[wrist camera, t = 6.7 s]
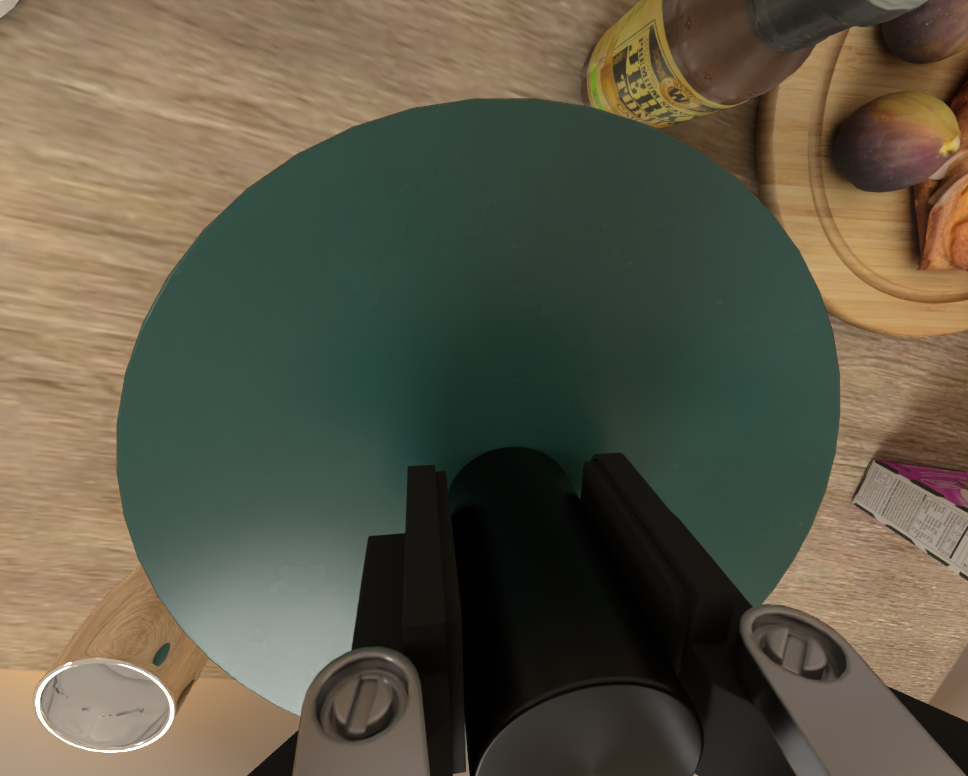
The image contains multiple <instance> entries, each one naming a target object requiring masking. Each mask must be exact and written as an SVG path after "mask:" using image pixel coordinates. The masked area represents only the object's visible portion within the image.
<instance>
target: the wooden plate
mask: <svg viewBox="0 0 968 776" xmlns="http://www.w3.org/2000/svg"><path fill="white" fill-rule="evenodd" d="M756 165H757V180H758V188H759V196H760V202H761V203H762V204H763V205H764V206H765V207H766V208H767V209H768V210H769V211H770V212H771V213H772V214H773V215H774V216H775V218H776V219H777V220H778V222H779V223H780V225H781V226H782V227H783V229H784V230H785V231H786V233H787V234H788V236H789V237H790V238H791V240H792V241H793V243H794V244H795V245H796V247H797V248H798V250H799V251H800V253H801V255H802V256H803V258H804V260H805V262H806V264H807V266H808V268H809V270H810V272H811V274H812V276H813V278H814V280H815V282H816V284H817V286H818V288H819V290H820V293H821V296H822V299H823V302H824V305H825V309H826V311H827V312H828V313H830V314H831V315H833V316H835V317H837V318H838V319H840V320H842V321H844V322H846V323H848V324H851V325H853V326H855V327H857V328H860V329H864V330H867V331H870V332H873V333H878V334H882V335H889V336H898V337H931V336H942V335H949V334H954V333H958V332H962V331H965V330H968V0H929V1H928V2H926V3H925V4H923V5H922V6H920V7H919V8H917V9H915V10H913V11H910V12H908V13H905V14H903V15H900V16H899V17H897V18H895V19H892V20H890V21H887V22H883V23H880V24H876V25H873V26H869V27H858V26H854V27H851V28H848V29H846V30H844V31H841V32H839V33H836V34H835V35H832V36H829V37H828V38H827V39H825V40H823V41H822V42H820V43H818V44H816V46H815V48H814V49H813V50H812V52H811V54H810V56H809V57H808V58H807V59H806V60H805V62H804V63H803V64H802V65H801V67H800V68H799V69H798V70H797V71H796V72H795V73H793V74H792V75H790V76H789V77H787V78H786V79H785V80H784V81H783V82H782V83H780V84H779V85H777V86H776V87H774V88H773V89H771V90H769V91H768V92H766V93H764V94H762V95H761V100H760V108H759V115H758V124H757V134H756Z"/></svg>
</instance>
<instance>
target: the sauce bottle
mask: <svg viewBox="0 0 968 776" xmlns="http://www.w3.org/2000/svg"><path fill="white" fill-rule="evenodd" d="M928 1H929V0H641V1H639V2H638V3H637V4H636V5H635V6H634V7H633V8H632V9H631V10H629V11H628V12H627V13H626V14H625V15H624V16H623V17H622V18H620V19H619V20H618V21H617V22H616V23H615V24H614V25H613V26H611V27H610V28H609V29H608V30H607V31H606V32H605V34H604V35H603V36H602V37H601V39H600V40H599V42H598V43H597V44H596V45H595V46H594V47H593V48H592V50H591V51H590V53H589V55H588V57H587V60H586V61H585V63H584V66H583V71H582V76H581V81H582V88H581V94H582V99H583V102H584V104H585V106H588V107H594V108H597V109H600V110H604V111H607V112H610V113H613V114H616V115H619V116H623V117H626V118H629V119H632V120H635V121H638V122H642V123H645V124H648V125H650V126H652V127H654V128H656V129H661V128H664V127H668V126H671V125H675V124H678V123H681V122H685V121H688V120H691V119H694V118H697V117H700V116H703V115H707V114H710V113H714V112H717V111H720V110H725V109H728V108H732V107H733V106H737V105H740V104H743V103H745V102H746V101H748V100H749V99H751V98H755V97H757V96H759V95H762V94H764V93H766V92H768V91H769V90H771V89H773V88H774V87H776V86H777V85H779V84H780V83H782V82H783V81H784V80H785V79H786V78H787V77H789V76H790V75H792V74H793V73H795V72H796V71H797V70H798V69H799V68H800V67H801V65H802V64H803V63H804V62H805V60H806V59H807V58H808V57H809V56H810V54H811V52H812V50H813V49H814V48H815V46H816V44H818V43H820V42H822V41H823V40H825V39H827V38H828V37H829V36H832V35H835V34H836V33H839V32H841V31H844V30H846V29H848V28H851V27H854V26H858V27H869V26H873V25H876V24H880V23H883V22H887V21H890V20H892V19H895V18H897V17H899V16H900V15H903V14H905V13H908V12H910V11H913V10H915V9H917V8H919V7H920V6H922V5H923V4H925V3H926V2H928Z"/></svg>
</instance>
